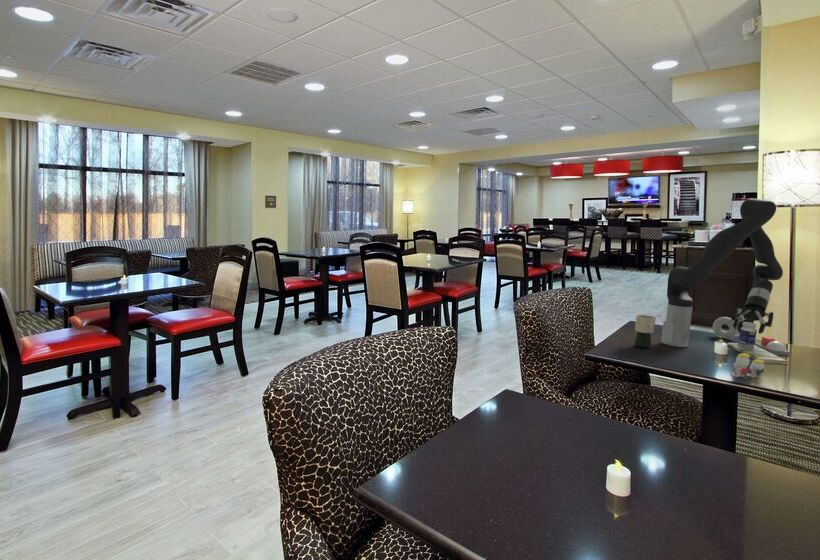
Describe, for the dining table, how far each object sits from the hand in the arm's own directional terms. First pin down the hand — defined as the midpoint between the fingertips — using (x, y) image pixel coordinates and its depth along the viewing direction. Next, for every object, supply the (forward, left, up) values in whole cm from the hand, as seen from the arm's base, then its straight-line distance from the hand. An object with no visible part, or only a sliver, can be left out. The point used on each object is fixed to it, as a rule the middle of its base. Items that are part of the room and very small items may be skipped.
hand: (747, 330), depth 201 cm
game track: (-2, -7, -8) cm, 11 cm away
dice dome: (+10, -3, -10) cm, 14 cm away
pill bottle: (+1, 0, -7) cm, 7 cm away
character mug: (-44, +8, -8) cm, 46 cm away
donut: (+6, +16, -8) cm, 19 cm away
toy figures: (-31, -28, -8) cm, 43 cm away
